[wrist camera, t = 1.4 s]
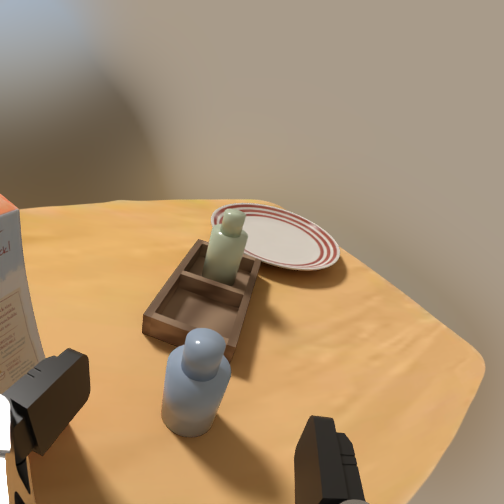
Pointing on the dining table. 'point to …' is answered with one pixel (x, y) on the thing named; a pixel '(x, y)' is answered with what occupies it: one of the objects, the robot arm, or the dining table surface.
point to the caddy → (201, 302)
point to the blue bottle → (195, 383)
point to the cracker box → (15, 304)
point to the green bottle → (226, 248)
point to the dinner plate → (283, 238)
